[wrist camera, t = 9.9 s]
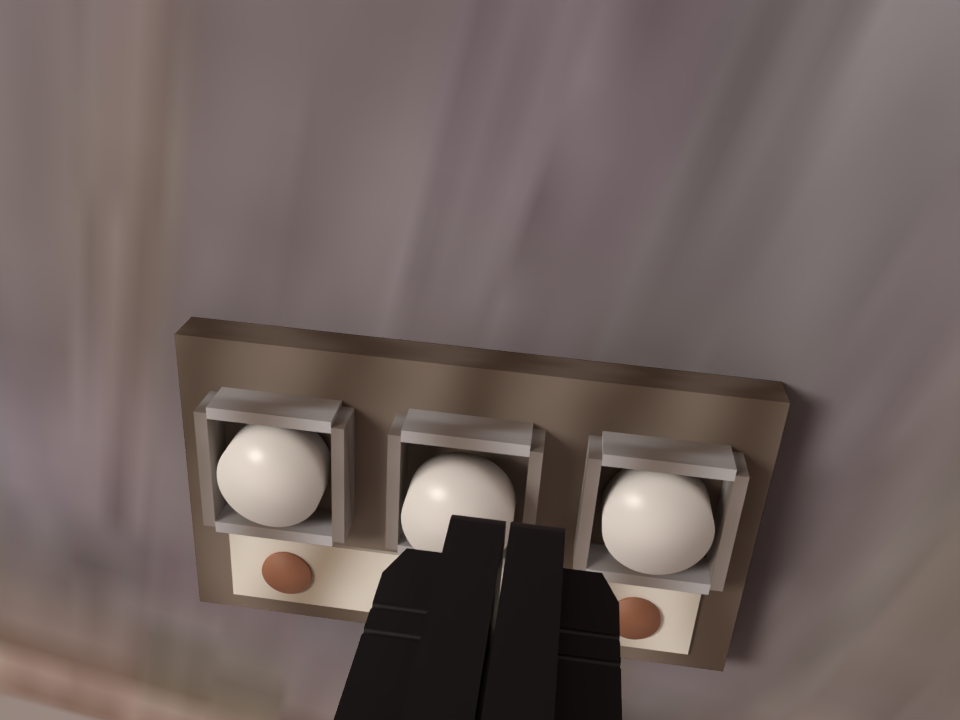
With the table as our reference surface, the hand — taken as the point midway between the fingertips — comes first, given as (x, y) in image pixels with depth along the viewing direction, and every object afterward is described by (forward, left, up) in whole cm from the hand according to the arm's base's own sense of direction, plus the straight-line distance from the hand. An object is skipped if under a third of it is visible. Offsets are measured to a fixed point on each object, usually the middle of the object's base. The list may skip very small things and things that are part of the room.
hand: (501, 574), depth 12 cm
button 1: (+12, +17, -27) cm, 34 cm away
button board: (+3, +19, -29) cm, 35 cm away
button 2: (-6, +17, -27) cm, 32 cm away
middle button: (+3, +17, -25) cm, 31 cm away
